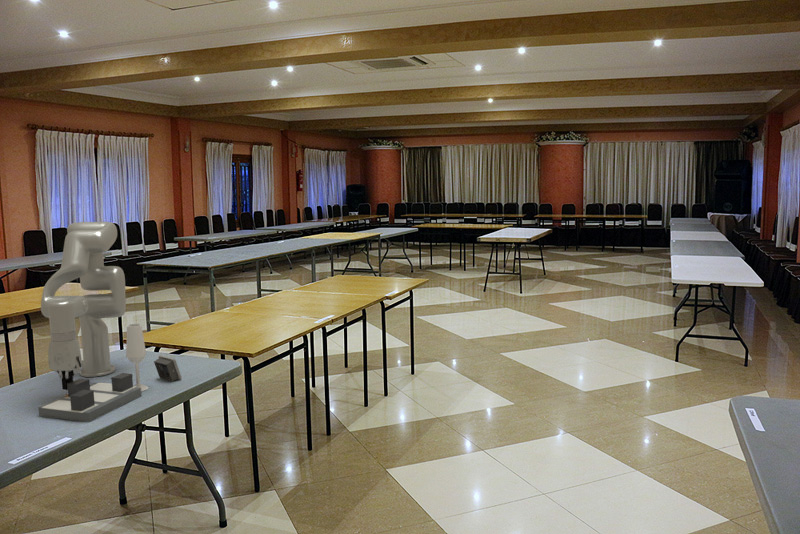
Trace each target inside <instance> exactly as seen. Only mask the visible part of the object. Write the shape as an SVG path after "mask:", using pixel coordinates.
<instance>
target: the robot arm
mask: <svg viewBox="0 0 800 534" xmlns="http://www.w3.org/2000/svg"><path fill="white" fill-rule="evenodd" d="M66 232H67V234H66V235H65V239H64V242H63V243H64V244H63V251H62V257H61V258H62V259H61V264H60V265H61V266H60V268H59V269H58V270H57V271H56V272H55V273H53V274H52V275H51V276H50V278H49V279H48V280H47V282H46V283H45V285H44V287H43V289H42V294H41V295H42V296H41V301H40V311H41V314H42V316H44V317H45V318H48V320H49V330H50V333H49V336H50V340H49V343H48V349H47V350H48V351H47V352H48V353H47V354H48V355H47V360H48V361H47V362H48V368H49V369H50V370H52V371H53V372H56V373H57V374H58V376H59V378H60V379H61V387H62V390H65V391H68V389H67V383H70V382H72V381H74V377H75V376H76V374H79V375H80V376H81V377H83V378H85V377H86V378H95V377H103V376H106V375H109V374H112V373H114V372H115V371H116V366H114V365H111V355H110V340H109V338H110V337H109V329H108V326H107V324H106V323H105V322H104V320H102V319H110V318H111V319H115V318H121V317H123V316H124V315H125V313H126V309H127V305H126V304H127V302H126V298H127V297H126V278H125V273H124V270H123V268H122V267H120V266H118V265H117V266H116V265H108V266H106V265H105V264H104V263H105V262H104V253H106V252H107V251H109V250H110V248H112V246H113V245H114V243H115V242H116V240H117V238H118V228H117V225H115V223H114V222H110V221H79V222H73V223H70V224H69V225H67V229H66ZM77 279H79V282H80V287H81V288H82V290H84V291H90V292H91V291H93V292H95V291H96V292H97V291H110V292H111V293H90V294H84V295H56V292H57V291H58V290H59V289H60V288H61V287H62V286H64V285H65V284H68V283H70V282H72V281H74V280H77ZM76 318H78V319H79V326H80V335H81V336H80V337H81V347H80V345H79V344H80V343H79V340H78V338H77V328H76ZM80 348H82V353H81V349H80ZM82 356H83V357H82Z"/></svg>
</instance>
